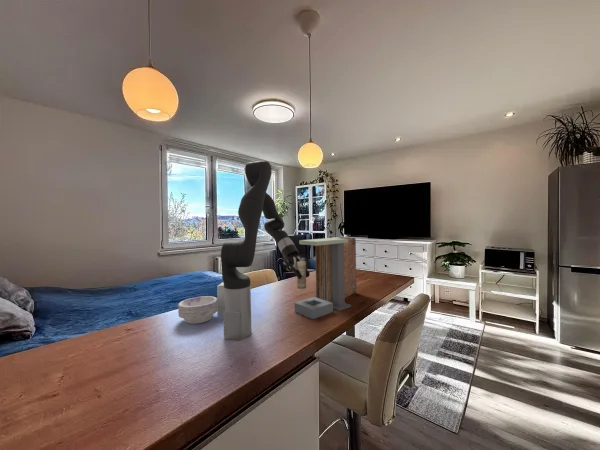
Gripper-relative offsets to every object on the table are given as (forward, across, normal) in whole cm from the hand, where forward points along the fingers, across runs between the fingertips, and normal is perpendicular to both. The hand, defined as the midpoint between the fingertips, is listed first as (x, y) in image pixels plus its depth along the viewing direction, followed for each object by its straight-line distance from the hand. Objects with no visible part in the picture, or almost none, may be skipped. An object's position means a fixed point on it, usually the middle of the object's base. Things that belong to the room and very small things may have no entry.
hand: (304, 277), depth 113 cm
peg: (+2, 0, +5) cm, 6 cm away
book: (+9, +24, +11) cm, 27 cm away
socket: (+14, 0, +6) cm, 16 cm away
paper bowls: (-4, -41, +25) cm, 48 cm away
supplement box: (-4, -28, +25) cm, 38 cm away
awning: (+16, +6, +4) cm, 18 cm away
